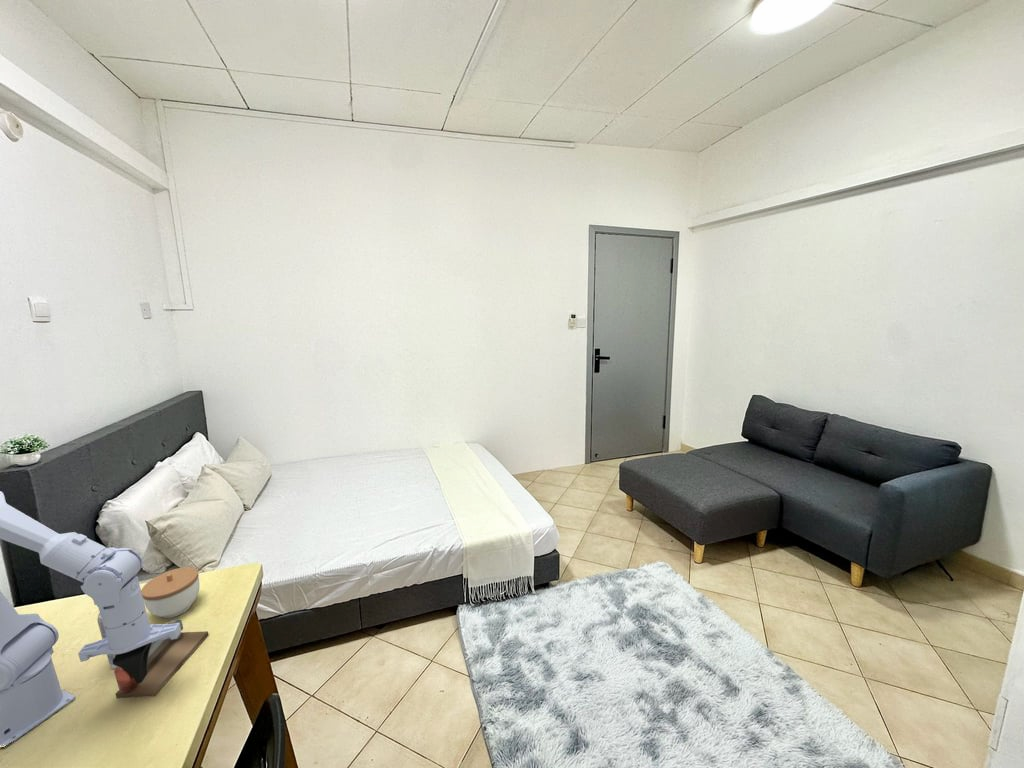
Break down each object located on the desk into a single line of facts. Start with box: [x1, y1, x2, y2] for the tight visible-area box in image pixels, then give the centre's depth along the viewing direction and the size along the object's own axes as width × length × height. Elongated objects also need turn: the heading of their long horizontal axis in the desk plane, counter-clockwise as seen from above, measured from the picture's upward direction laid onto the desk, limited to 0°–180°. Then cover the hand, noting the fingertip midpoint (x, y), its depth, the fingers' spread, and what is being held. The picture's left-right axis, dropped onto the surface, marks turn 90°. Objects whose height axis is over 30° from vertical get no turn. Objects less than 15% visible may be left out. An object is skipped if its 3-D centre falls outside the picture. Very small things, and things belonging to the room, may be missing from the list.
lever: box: [113, 618, 184, 693], centre depth 84 cm, size 15×4×4 cm, turn 4°
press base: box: [114, 619, 210, 699], centre depth 85 cm, size 14×7×5 cm, turn 1°
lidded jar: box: [141, 566, 200, 619], centre depth 100 cm, size 11×11×9 cm
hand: (141, 678), depth 79 cm, fingers closed
